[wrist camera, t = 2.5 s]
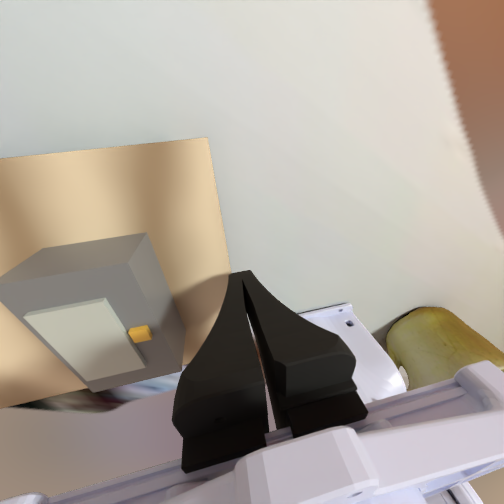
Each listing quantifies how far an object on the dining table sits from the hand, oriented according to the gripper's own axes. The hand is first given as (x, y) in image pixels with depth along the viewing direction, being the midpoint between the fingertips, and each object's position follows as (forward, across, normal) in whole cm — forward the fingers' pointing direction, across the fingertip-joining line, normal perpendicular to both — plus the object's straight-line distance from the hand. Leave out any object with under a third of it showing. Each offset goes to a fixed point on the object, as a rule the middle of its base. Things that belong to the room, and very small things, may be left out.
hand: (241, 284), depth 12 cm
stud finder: (+1, +7, 0) cm, 7 cm away
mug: (+5, -22, +18) cm, 28 cm away
